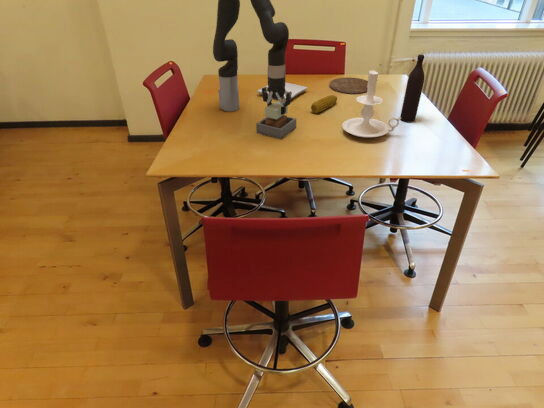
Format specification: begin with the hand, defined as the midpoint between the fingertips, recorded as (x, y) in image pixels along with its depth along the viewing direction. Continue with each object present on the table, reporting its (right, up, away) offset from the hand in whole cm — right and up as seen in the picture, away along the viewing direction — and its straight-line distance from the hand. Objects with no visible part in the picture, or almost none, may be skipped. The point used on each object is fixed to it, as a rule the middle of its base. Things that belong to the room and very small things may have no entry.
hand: (276, 112), depth 170 cm
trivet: (+44, +27, +53) cm, 74 cm away
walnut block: (0, -6, +5) cm, 8 cm away
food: (+25, +8, +27) cm, 37 cm away
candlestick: (+42, -9, +2) cm, 43 cm away
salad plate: (+4, +21, +44) cm, 49 cm away
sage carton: (0, -1, +1) cm, 1 cm away
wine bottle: (+64, 0, +14) cm, 65 cm away
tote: (0, -7, +5) cm, 9 cm away
